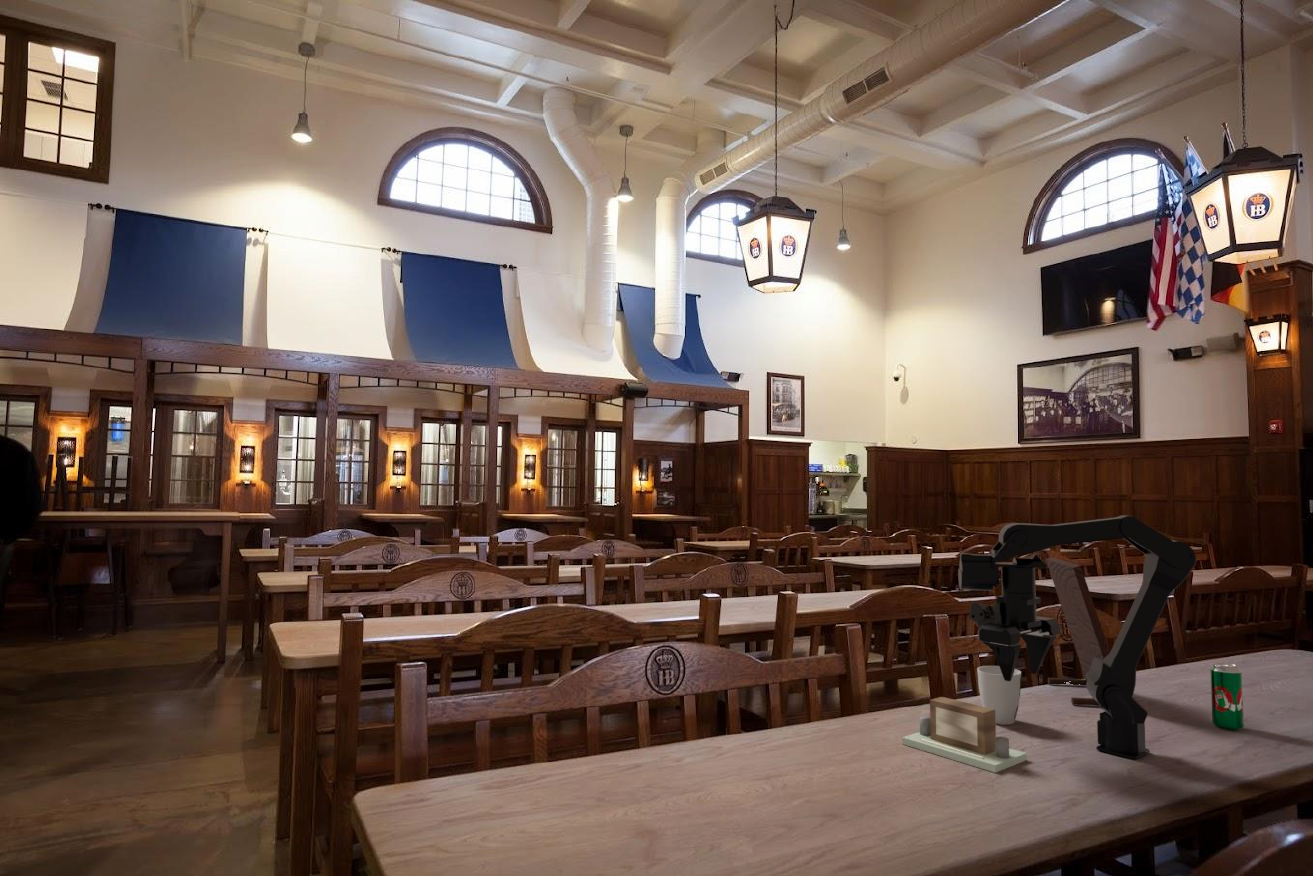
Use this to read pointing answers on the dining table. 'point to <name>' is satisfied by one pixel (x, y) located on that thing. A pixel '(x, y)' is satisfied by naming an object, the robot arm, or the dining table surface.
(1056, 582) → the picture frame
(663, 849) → the dining table surface
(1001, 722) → the cup
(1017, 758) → the ledge board
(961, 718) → the brown wooden block
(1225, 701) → the soda can
